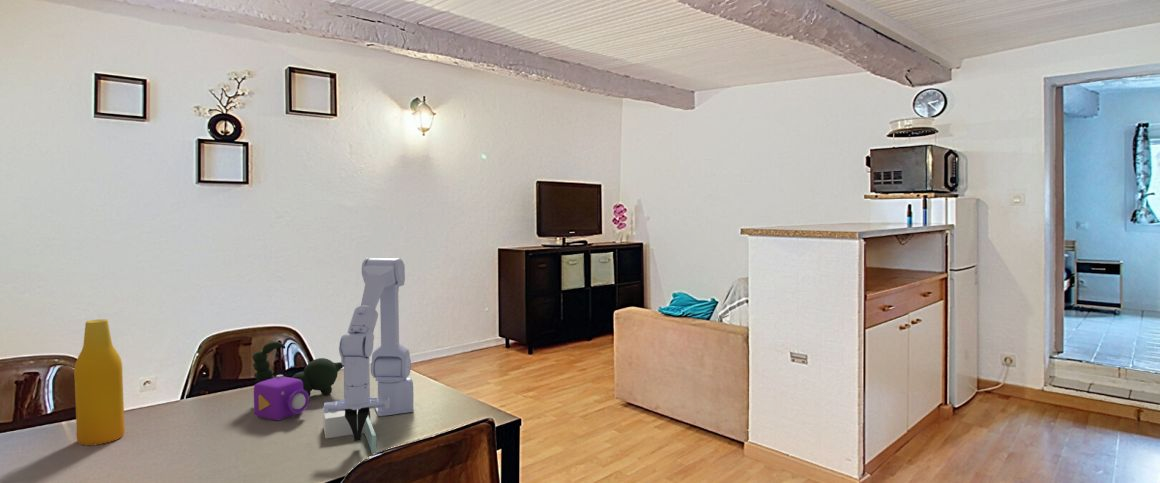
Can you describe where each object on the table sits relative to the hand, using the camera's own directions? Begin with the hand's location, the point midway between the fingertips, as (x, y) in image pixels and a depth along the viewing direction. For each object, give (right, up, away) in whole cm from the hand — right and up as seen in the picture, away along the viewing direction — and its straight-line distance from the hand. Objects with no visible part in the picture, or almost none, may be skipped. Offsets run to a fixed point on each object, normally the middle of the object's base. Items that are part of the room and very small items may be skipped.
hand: (357, 439), depth 146 cm
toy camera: (-28, -1, +21) cm, 35 cm away
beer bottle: (-63, -1, +3) cm, 64 cm away
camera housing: (-7, -1, +11) cm, 13 cm away
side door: (+2, -2, +2) cm, 4 cm away
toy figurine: (-29, 0, +36) cm, 46 cm away
